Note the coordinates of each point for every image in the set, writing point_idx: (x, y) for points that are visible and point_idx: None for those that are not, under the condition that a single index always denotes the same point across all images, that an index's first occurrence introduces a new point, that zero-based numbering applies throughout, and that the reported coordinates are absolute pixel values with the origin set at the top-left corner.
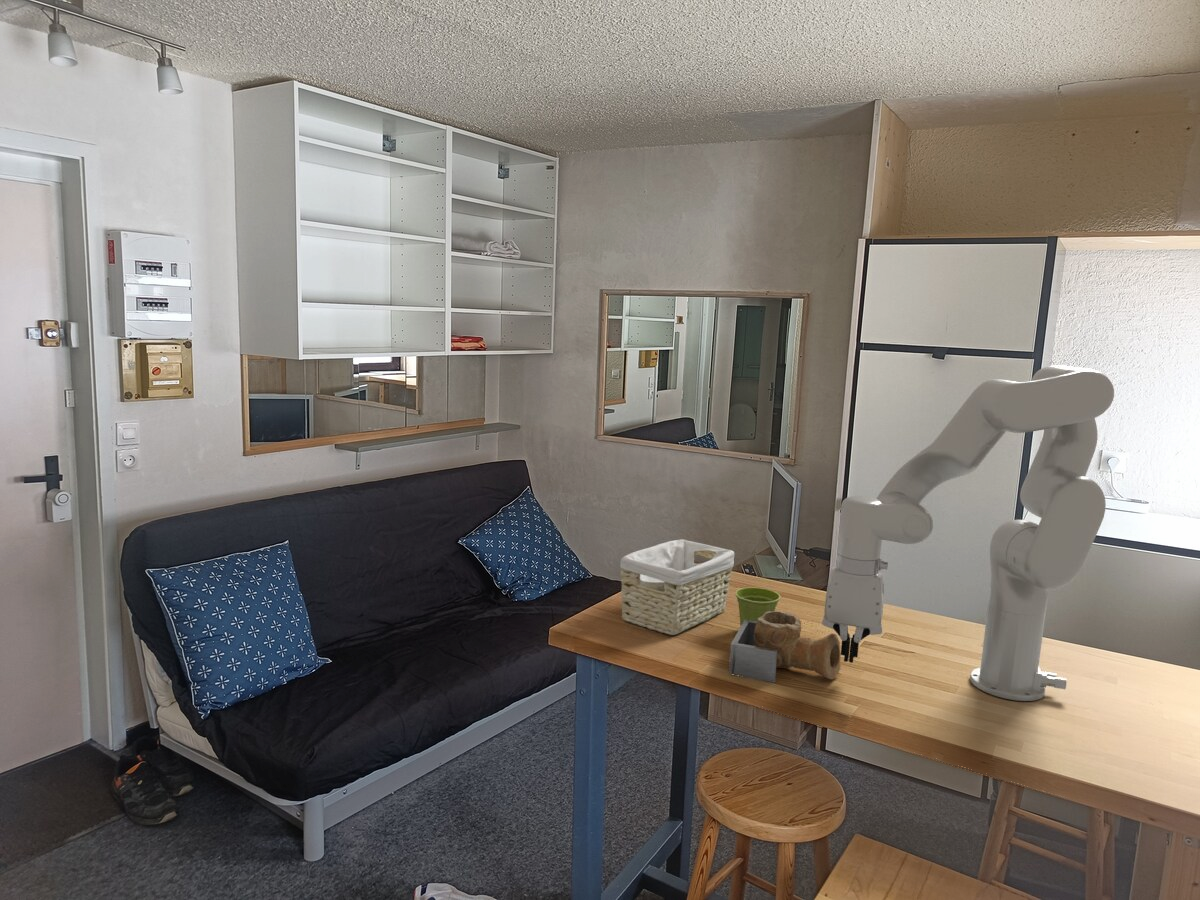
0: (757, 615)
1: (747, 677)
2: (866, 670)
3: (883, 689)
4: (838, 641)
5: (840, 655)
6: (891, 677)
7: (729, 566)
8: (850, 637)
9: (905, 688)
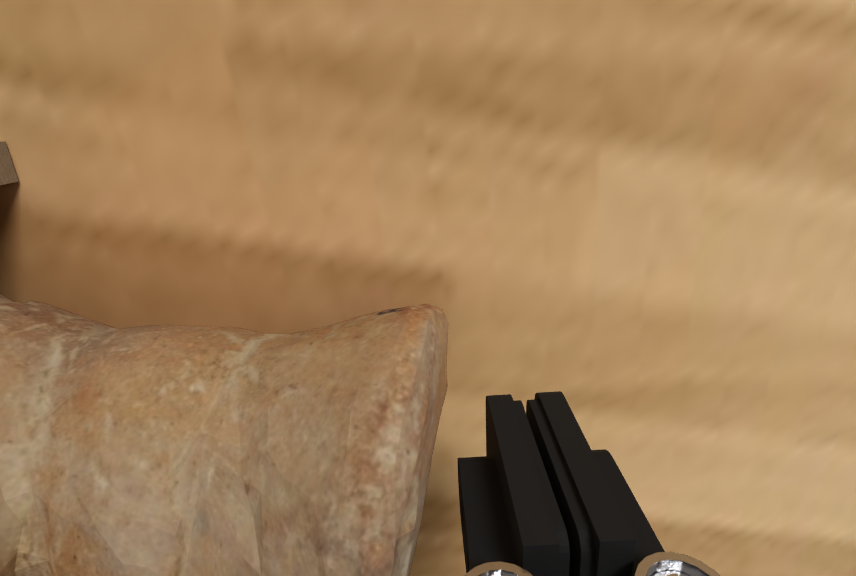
0: None
1: None
2: (618, 134)
3: (702, 378)
4: (422, 484)
5: (446, 379)
6: (784, 175)
7: None
8: (569, 551)
9: (841, 307)
